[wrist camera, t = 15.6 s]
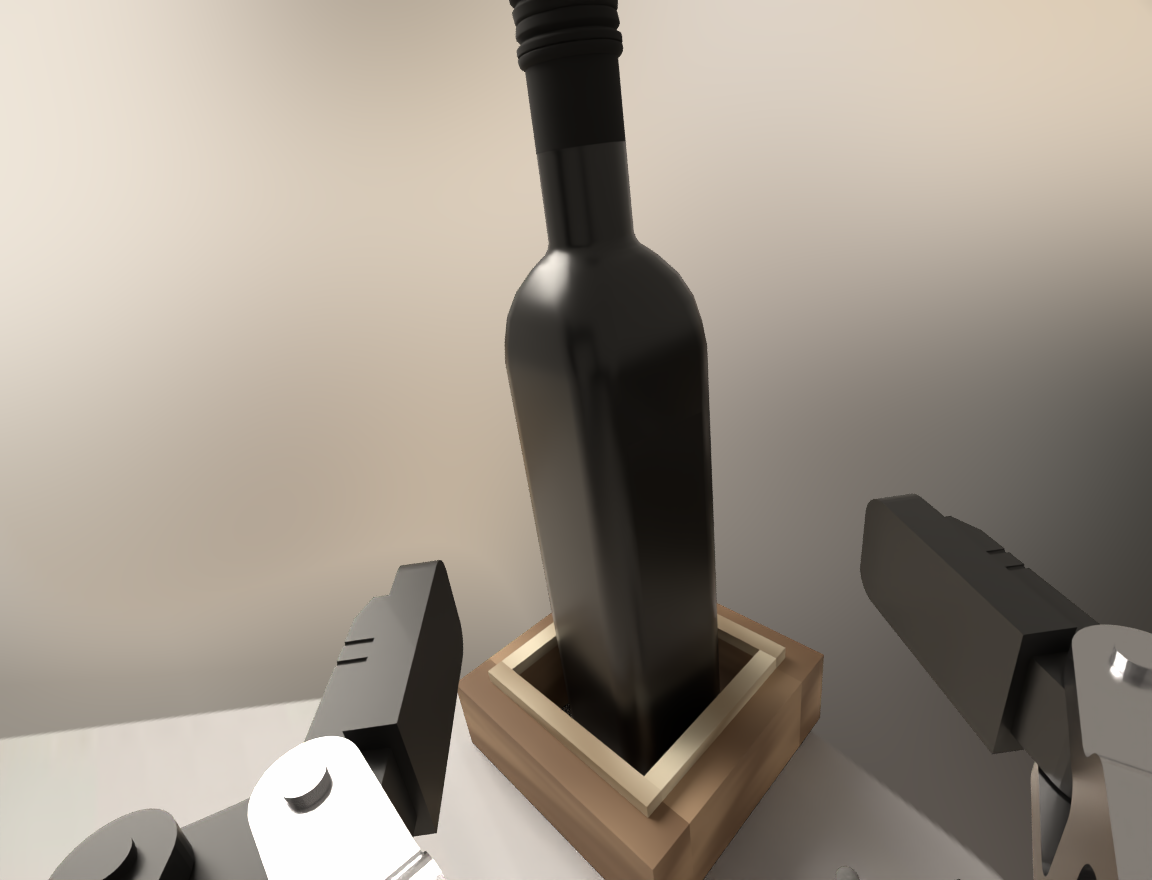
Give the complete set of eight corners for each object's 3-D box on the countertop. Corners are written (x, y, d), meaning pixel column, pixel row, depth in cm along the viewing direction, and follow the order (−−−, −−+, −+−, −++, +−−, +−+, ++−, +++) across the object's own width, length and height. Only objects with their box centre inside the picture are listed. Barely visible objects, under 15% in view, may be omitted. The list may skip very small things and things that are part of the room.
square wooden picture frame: (660, 937, 21) (651, 859, 19) (472, 742, 29) (452, 674, 27) (819, 717, 28) (824, 644, 26) (631, 611, 36) (624, 550, 34)
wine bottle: (565, 731, 29) (423, -2, 17) (648, 669, 32) (579, 6, 20) (644, 817, 25) (530, -86, 12) (732, 736, 28) (711, -61, 15)
